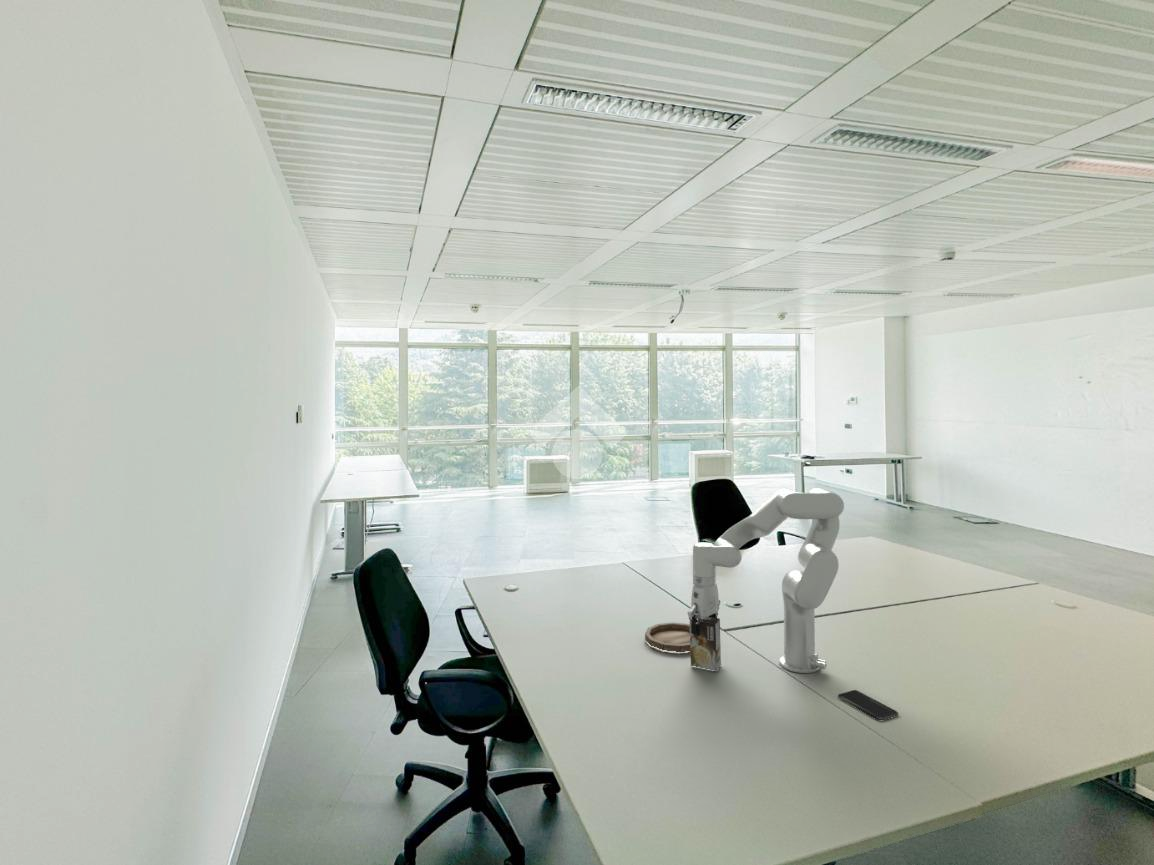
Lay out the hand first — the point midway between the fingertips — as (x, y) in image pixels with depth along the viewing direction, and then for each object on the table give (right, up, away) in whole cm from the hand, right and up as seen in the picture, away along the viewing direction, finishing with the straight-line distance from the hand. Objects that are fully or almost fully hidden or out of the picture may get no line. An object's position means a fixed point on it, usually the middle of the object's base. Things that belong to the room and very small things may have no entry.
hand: (704, 630), depth 196 cm
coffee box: (+1, -12, +1) cm, 12 cm away
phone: (+41, -13, -27) cm, 51 cm away
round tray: (-6, -11, +22) cm, 25 cm away
